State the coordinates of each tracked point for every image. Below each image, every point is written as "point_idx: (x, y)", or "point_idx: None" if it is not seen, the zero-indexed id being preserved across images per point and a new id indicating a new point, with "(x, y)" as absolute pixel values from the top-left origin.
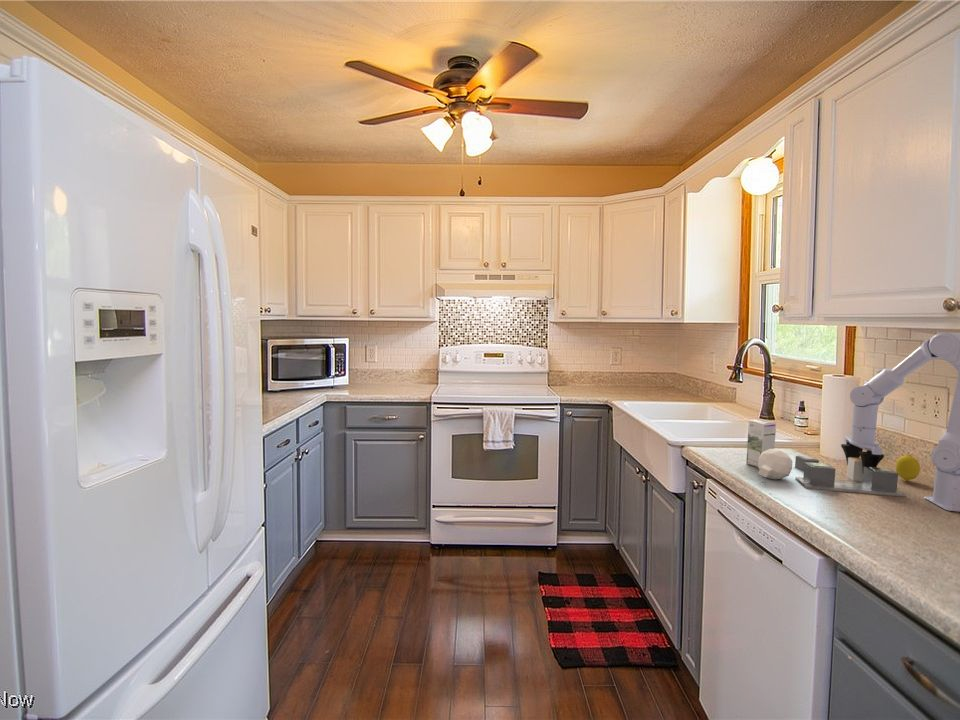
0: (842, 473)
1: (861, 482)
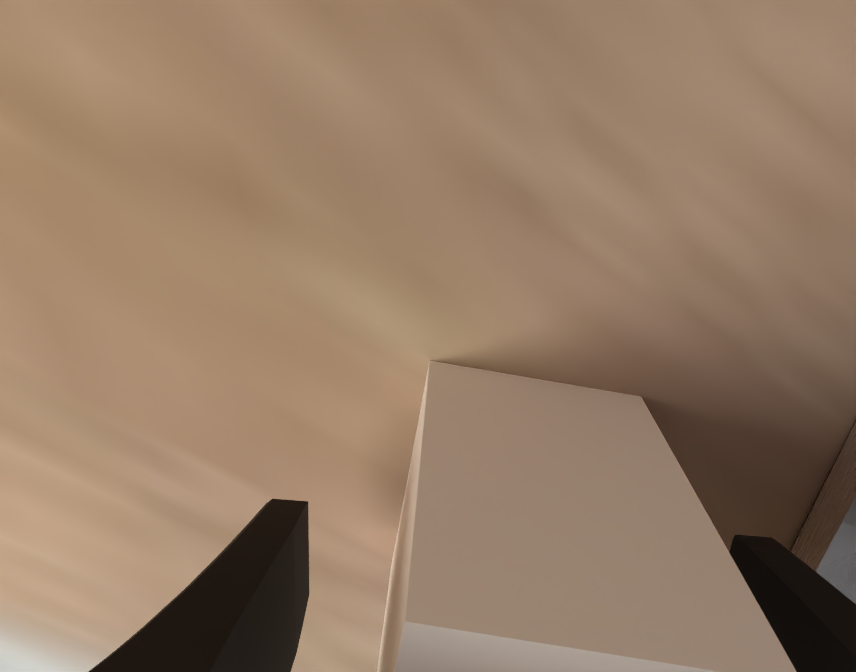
0: (233, 532)
1: None
